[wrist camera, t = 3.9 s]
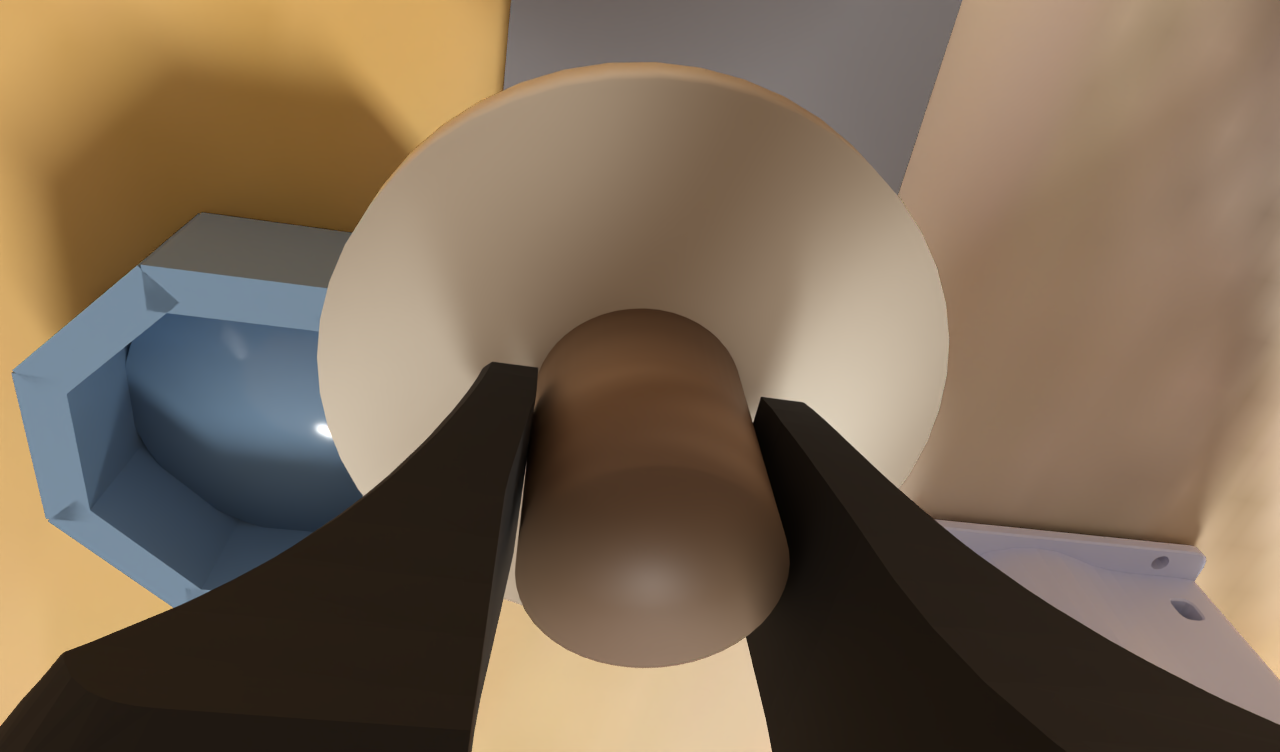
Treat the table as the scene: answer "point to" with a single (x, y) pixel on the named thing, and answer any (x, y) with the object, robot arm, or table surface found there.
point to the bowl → (192, 408)
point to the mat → (763, 54)
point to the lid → (638, 334)
